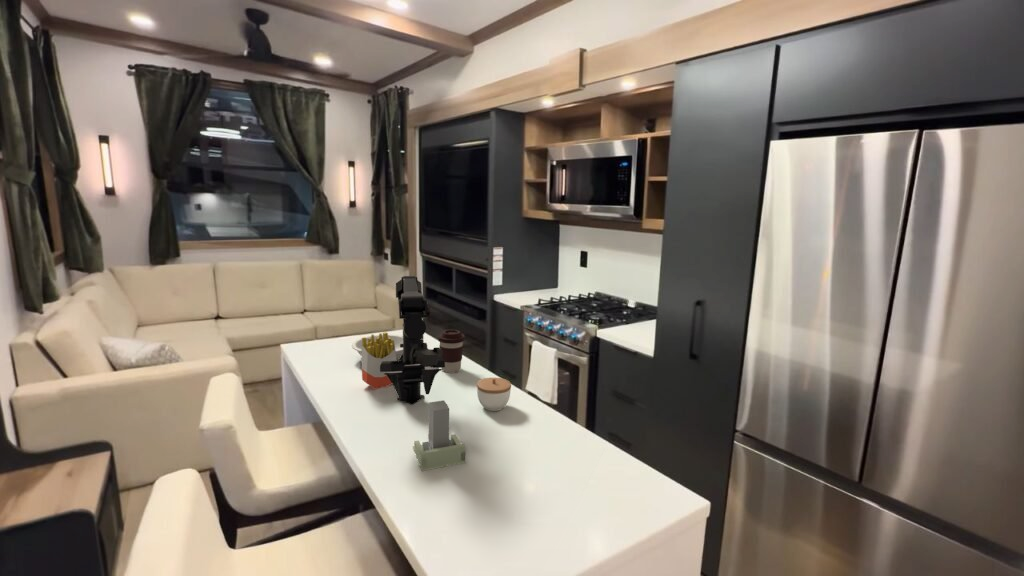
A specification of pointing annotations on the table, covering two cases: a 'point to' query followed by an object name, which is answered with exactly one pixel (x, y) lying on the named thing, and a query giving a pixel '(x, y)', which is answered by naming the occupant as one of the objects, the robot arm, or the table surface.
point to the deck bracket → (440, 454)
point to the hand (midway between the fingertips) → (414, 396)
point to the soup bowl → (396, 338)
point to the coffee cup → (451, 349)
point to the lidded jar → (493, 393)
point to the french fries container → (376, 359)
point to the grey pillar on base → (438, 426)
